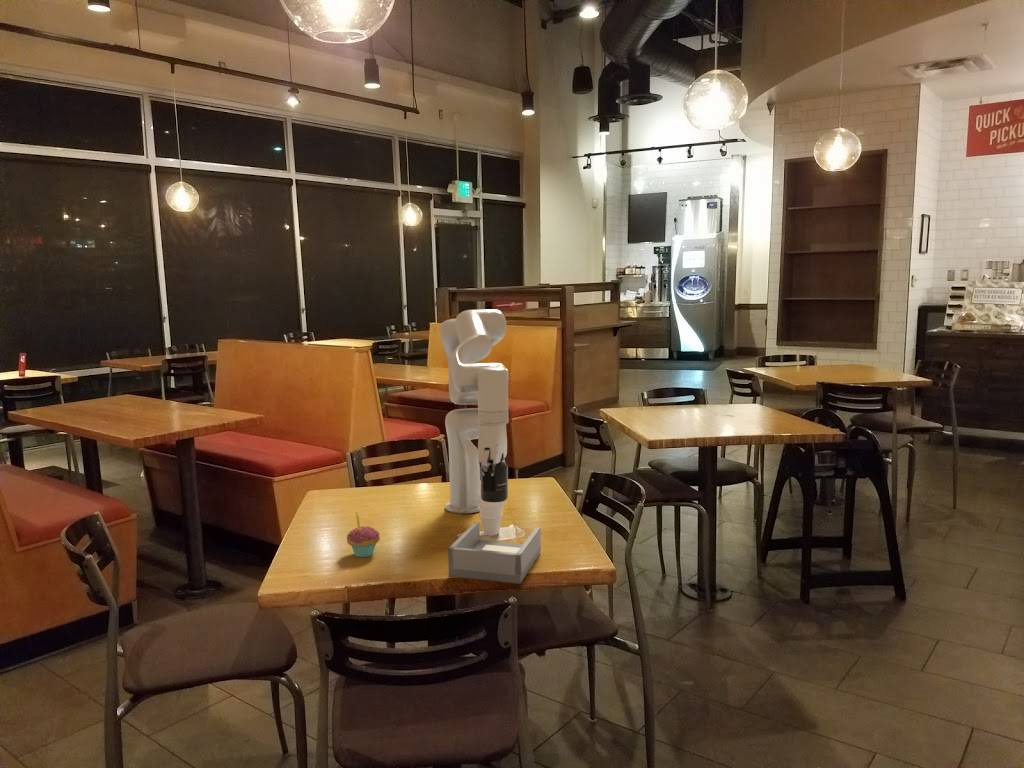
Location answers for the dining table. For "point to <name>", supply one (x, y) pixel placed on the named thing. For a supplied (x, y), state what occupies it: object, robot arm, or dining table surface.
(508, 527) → the dining table surface
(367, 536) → the cupcake
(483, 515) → the soft serve ice cream cone
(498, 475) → the supplement bottle
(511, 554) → the dock
